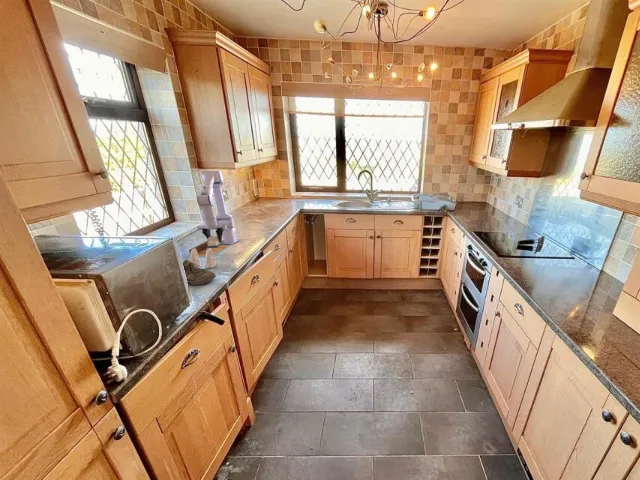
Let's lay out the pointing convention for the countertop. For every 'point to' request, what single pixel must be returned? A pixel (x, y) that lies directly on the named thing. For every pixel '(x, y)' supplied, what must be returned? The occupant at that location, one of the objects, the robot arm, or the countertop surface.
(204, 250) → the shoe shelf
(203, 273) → the hiking shoe
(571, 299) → the countertop surface
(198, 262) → the shaker set
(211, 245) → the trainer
